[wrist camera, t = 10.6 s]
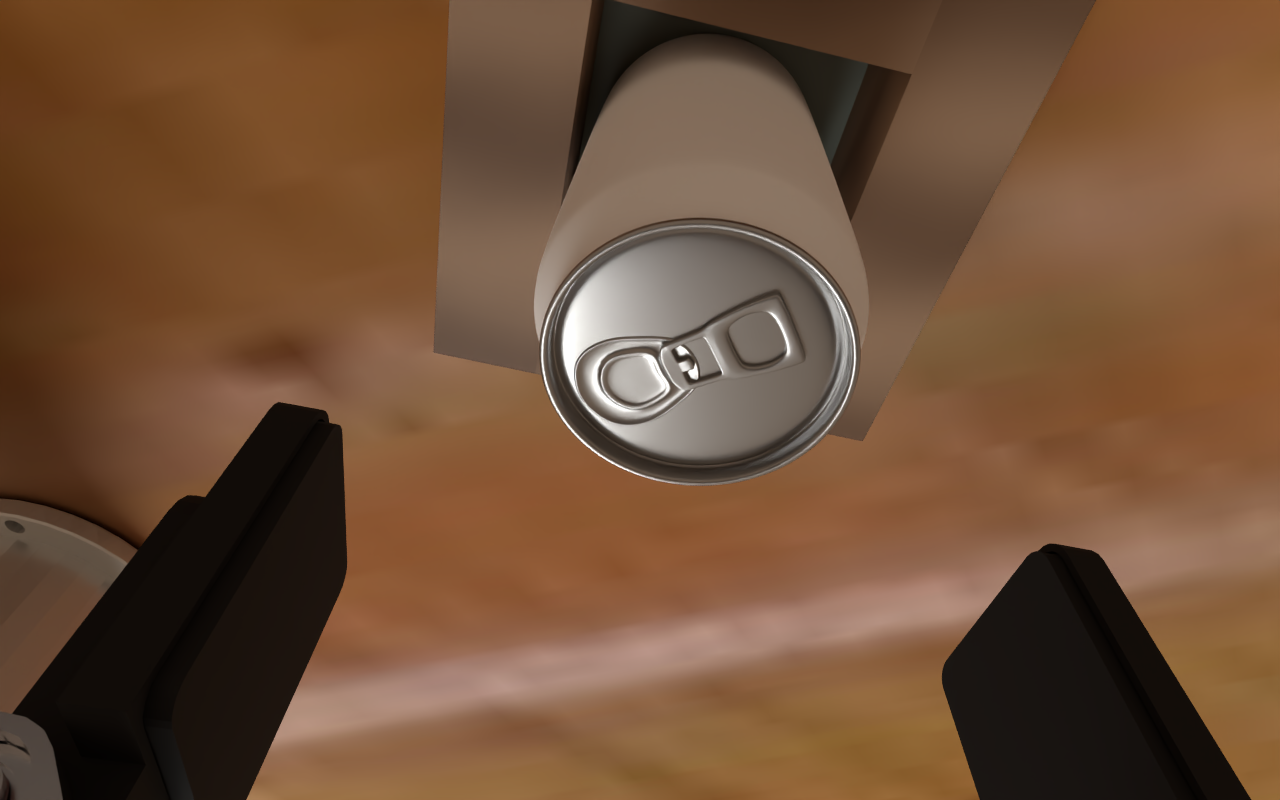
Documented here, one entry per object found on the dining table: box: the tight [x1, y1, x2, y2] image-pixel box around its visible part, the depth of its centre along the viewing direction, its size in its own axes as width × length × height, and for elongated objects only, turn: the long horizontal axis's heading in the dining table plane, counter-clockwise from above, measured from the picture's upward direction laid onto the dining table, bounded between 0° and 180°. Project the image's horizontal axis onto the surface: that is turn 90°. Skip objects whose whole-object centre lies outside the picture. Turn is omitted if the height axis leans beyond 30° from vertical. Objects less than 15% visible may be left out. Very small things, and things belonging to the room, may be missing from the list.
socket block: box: [434, 0, 1096, 441], centre depth 21 cm, size 14×14×4 cm
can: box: [534, 34, 869, 486], centre depth 18 cm, size 6×6×12 cm
